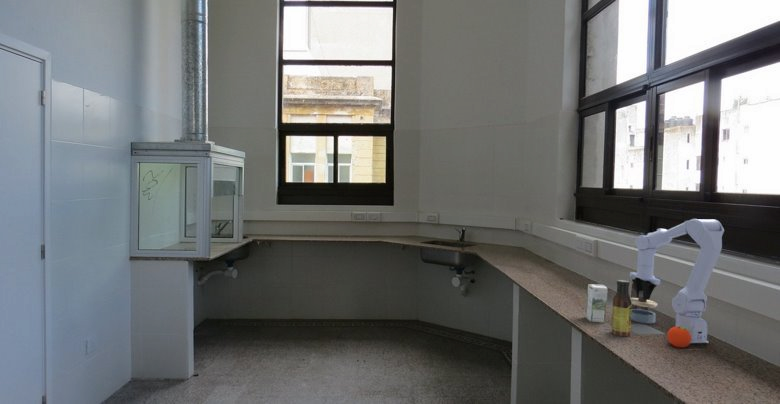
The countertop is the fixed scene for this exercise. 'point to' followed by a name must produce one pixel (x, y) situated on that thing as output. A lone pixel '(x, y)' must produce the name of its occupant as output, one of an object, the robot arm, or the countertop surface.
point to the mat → (644, 329)
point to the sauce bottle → (622, 310)
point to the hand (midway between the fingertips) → (643, 298)
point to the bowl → (643, 316)
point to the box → (634, 295)
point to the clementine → (679, 336)
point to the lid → (643, 301)
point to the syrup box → (596, 303)
